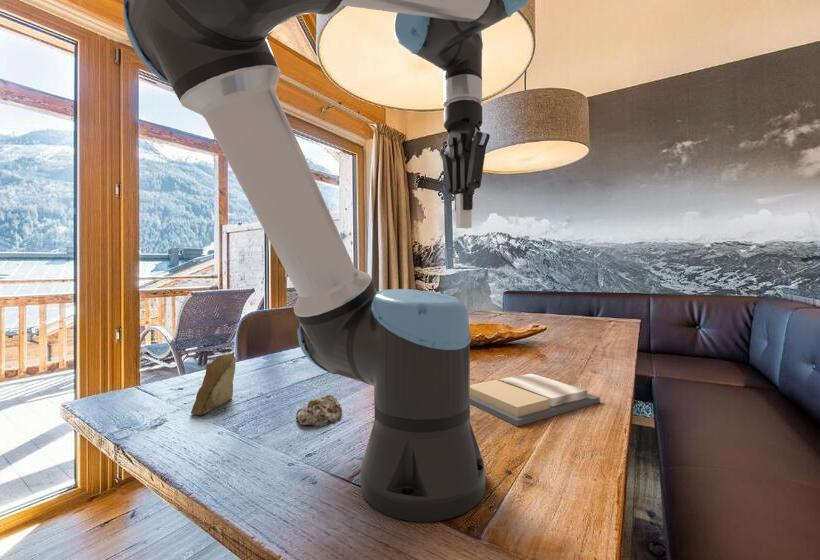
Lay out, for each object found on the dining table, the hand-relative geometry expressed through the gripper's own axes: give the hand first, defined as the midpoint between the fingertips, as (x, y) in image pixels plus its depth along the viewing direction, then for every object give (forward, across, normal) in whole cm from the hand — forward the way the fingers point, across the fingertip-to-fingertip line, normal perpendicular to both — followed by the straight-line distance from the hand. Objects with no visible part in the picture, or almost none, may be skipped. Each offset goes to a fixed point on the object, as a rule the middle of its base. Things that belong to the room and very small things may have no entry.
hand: (463, 227), depth 73 cm
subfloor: (+34, -6, -11) cm, 37 cm away
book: (+33, -6, -15) cm, 37 cm away
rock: (+35, +24, +44) cm, 61 cm away
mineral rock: (+35, +8, +27) cm, 45 cm away
